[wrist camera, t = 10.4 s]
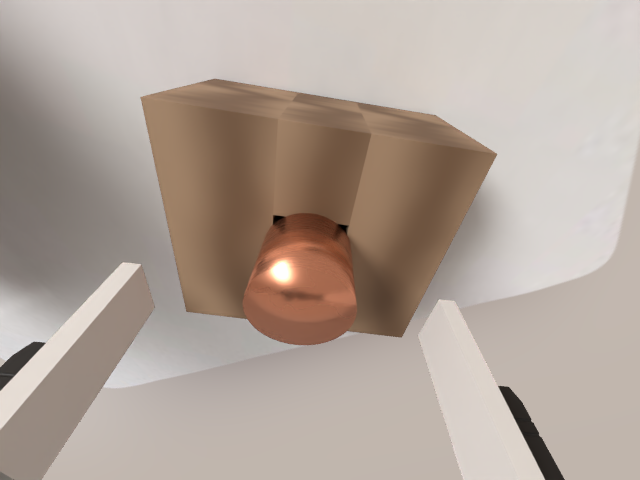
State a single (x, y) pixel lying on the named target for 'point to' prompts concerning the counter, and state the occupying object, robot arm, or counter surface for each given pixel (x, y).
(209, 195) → the hitch block
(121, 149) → the counter surface
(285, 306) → the copper cylinder with shaft
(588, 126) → the counter surface
